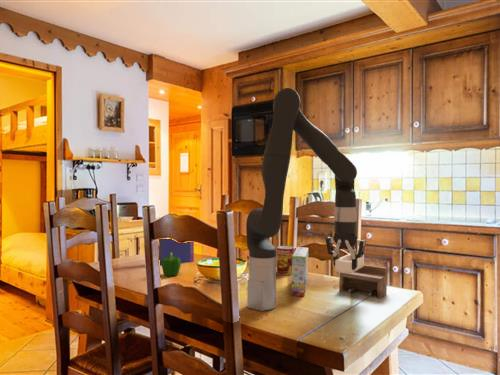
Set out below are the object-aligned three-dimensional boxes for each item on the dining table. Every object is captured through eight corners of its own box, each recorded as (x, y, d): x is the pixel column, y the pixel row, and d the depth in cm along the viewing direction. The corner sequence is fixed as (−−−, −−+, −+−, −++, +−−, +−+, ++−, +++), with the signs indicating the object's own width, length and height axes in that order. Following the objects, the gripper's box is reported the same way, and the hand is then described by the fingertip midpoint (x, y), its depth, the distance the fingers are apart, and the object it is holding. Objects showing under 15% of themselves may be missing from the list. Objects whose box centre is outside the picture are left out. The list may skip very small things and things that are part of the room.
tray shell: (350, 273, 130) (350, 262, 130) (335, 271, 133) (335, 260, 133) (364, 266, 141) (364, 255, 141) (349, 264, 144) (349, 253, 144)
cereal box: (190, 260, 206) (190, 215, 206) (193, 261, 202) (193, 216, 202) (158, 263, 197) (158, 217, 197) (161, 265, 193) (161, 217, 193)
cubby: (380, 298, 140) (381, 271, 140) (339, 290, 149) (339, 265, 149) (386, 293, 146) (386, 267, 146) (346, 286, 155) (346, 262, 155)
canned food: (273, 273, 178) (273, 247, 178) (283, 270, 184) (283, 245, 184) (287, 275, 173) (287, 249, 173) (297, 272, 179) (297, 247, 179)
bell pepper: (176, 278, 168) (176, 255, 168) (159, 277, 170) (159, 254, 169) (183, 273, 176) (183, 251, 176) (166, 272, 178) (166, 251, 178)
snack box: (305, 297, 142) (306, 256, 141) (290, 296, 143) (290, 255, 143) (308, 282, 162) (308, 246, 162) (295, 281, 164) (295, 246, 163)
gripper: (369, 220, 132) (369, 269, 132) (330, 217, 140) (330, 263, 140) (362, 222, 126) (361, 273, 126) (321, 219, 134) (321, 267, 134)
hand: (345, 268), depth 133 cm, fingers closed on tray shell, 5 cm apart
